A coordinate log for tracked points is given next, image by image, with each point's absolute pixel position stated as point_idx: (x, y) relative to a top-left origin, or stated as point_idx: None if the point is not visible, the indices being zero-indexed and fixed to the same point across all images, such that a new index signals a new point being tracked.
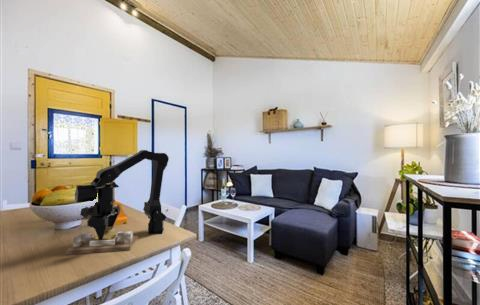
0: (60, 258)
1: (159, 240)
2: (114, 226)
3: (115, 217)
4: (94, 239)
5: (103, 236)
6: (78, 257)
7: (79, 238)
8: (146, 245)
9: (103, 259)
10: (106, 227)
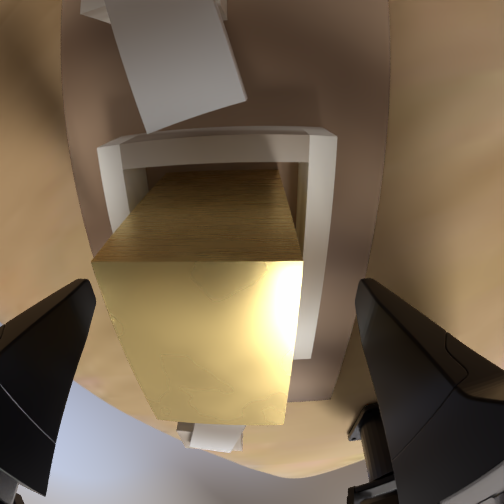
0: (33, 7)
1: (265, 441)
2: (271, 424)
3: (401, 486)
4: (176, 164)
5: (86, 332)
6: (32, 123)
7: (88, 14)
8: None
9: (38, 291)
10: (43, 443)
